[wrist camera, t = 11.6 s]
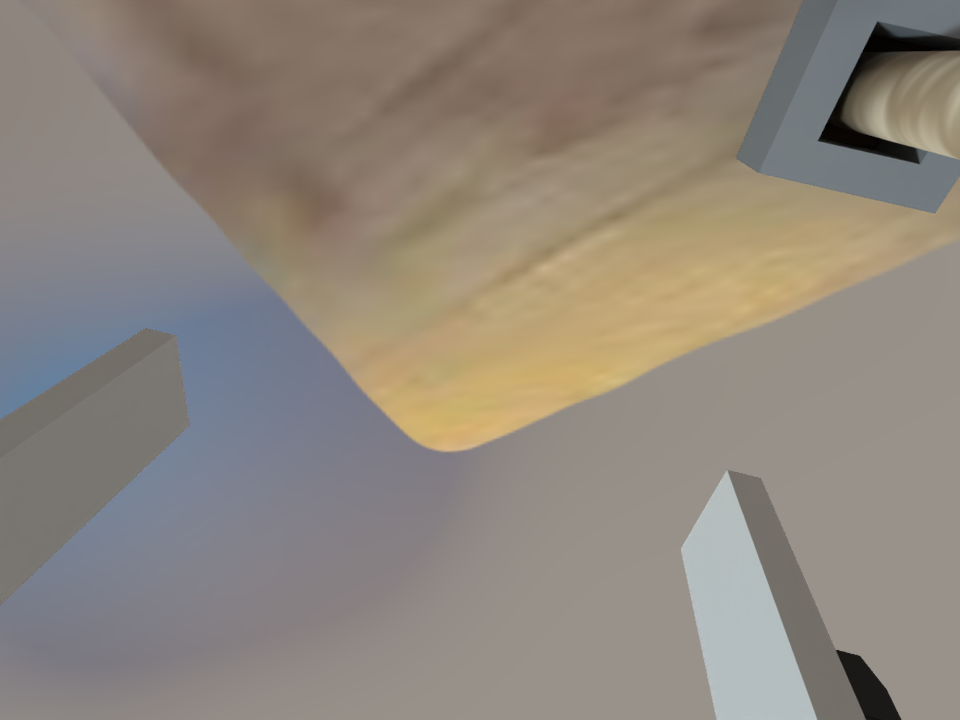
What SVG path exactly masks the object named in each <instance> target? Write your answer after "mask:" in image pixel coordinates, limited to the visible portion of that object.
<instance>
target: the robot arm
mask: <svg viewBox="0 0 960 720" xmlns="http://www.w3.org/2000/svg"><path fill="white" fill-rule="evenodd" d="M189 425H190V424H189V417H188V411H187V405H186V398H185V391H184V384H183V378H182V371H181V365H180V358H179V351H178V344H177V338H176V335H172V334H168V333H163V332H160V331H155V330H151V329H147V328H145V329H143V330H142V331H140V332H139V333H137V334H136V335H134V336H132V337H131V338H129V339H128V340H126V341H124V342H123V343H121V344H120V345H118V346H116V347H115V348H113V349H112V350H110V351H109V352H107V353H105V354H104V355H102V356H101V357H99V358H97V359H96V360H94V361H93V362H91V363H90V364H88V365H86V366H85V367H83V368H82V369H80V370H78V371H77V372H75V373H74V374H72V375H70V376H69V377H67V378H66V379H64V380H62V381H61V382H60V383H58V384H56V385H55V386H53V387H51V388H50V389H48V390H47V391H45V392H43V393H42V394H40V395H39V396H37V397H36V398H34V399H32V400H31V401H29V402H28V403H26V404H24V405H23V406H21V407H20V408H18V409H17V410H15V411H13V412H12V413H10V414H9V415H7V416H5V417H4V418H2V419H1V420H0V605H1V604H2V603H3V602H4V601H5V600H6V599H8V598H9V597H10V596H11V595H12V594H13V593H14V592H15V591H16V590H17V589H18V588H19V587H20V586H21V585H22V584H23V583H24V582H25V581H26V580H28V579H29V578H30V577H31V576H32V575H33V574H34V573H35V572H36V571H37V570H38V569H39V568H40V567H41V566H42V565H43V564H44V563H45V562H46V561H47V560H48V559H50V558H51V557H52V556H53V555H54V554H55V553H56V552H57V551H58V550H59V549H60V548H61V547H62V546H63V545H64V544H65V543H66V542H67V541H68V540H70V539H71V538H72V536H74V535H75V534H76V533H77V532H78V531H79V530H80V529H81V528H82V527H83V526H84V525H85V524H86V523H87V522H88V521H89V520H91V519H92V518H93V517H94V516H95V515H96V514H97V513H98V512H99V511H100V510H101V509H102V508H103V507H104V506H105V505H106V504H107V503H108V502H110V501H111V499H112V498H114V497H115V496H116V495H117V494H118V493H119V492H120V491H121V490H122V489H123V488H124V487H125V486H126V485H127V484H128V483H129V482H130V481H131V480H133V479H134V478H135V477H136V476H137V475H138V474H139V473H140V472H141V471H142V470H143V469H144V468H145V467H146V466H147V465H148V464H149V463H150V462H151V461H152V460H154V459H155V458H156V456H158V455H159V454H160V453H161V452H162V451H163V450H164V449H165V448H166V447H167V446H168V445H169V444H170V443H171V442H172V441H174V440H175V439H176V438H177V437H178V436H179V435H180V434H181V433H182V432H183V431H184V430H185V429H186V428H187V427H188V426H189ZM681 552H682V556H683V562H684V566H685V571H686V576H687V580H688V585H689V590H690V595H691V599H692V604H693V609H694V613H695V619H696V623H697V628H698V633H699V638H700V643H701V647H702V652H703V657H704V661H705V666H706V671H707V676H708V681H709V685H710V690H711V695H712V700H713V704H714V709H715V714H716V719H717V720H901V718H900V716H899V714H898V712H897V710H896V708H895V706H894V704H893V702H892V700H891V697H890V695H889V693H888V691H887V689H886V688H885V687H884V686H883V684H882V683H881V682H880V681H879V679H878V678H877V677H876V676H875V674H874V673H873V672H872V671H871V669H870V668H869V667H868V666H867V664H866V663H865V662H864V660H863V659H862V658H861V657H860V656H858V655H854V654H850V653H846V652H843V651H839V650H835V648H834V645H833V643H832V641H831V638H830V636H829V634H828V631H827V629H826V627H825V625H824V622H823V620H822V618H821V615H820V613H819V611H818V608H817V606H816V604H815V601H814V599H813V597H812V595H811V592H810V590H809V588H808V585H807V583H806V581H805V578H804V576H803V574H802V572H801V569H800V567H799V565H798V562H797V560H796V558H795V556H794V553H793V551H792V549H791V546H790V544H789V542H788V539H787V537H786V535H785V532H784V530H783V528H782V526H781V523H780V521H779V519H778V516H777V514H776V512H775V509H774V507H773V505H772V503H771V500H770V498H769V496H768V493H767V491H766V489H765V486H764V484H763V482H762V480H761V478H758V477H754V476H749V475H746V474H742V473H738V472H733V471H729V470H727V471H726V473H725V474H724V476H723V478H722V480H721V481H720V483H719V485H718V486H717V488H716V490H715V492H714V493H713V495H712V497H711V498H710V500H709V502H708V503H707V505H706V507H705V509H704V510H703V512H702V514H701V516H700V517H699V519H698V521H697V522H696V524H695V526H694V527H693V529H692V531H691V533H690V534H689V536H688V538H687V540H686V541H685V543H684V545H683V546H682V548H681Z"/></svg>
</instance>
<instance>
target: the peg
mask: <svg viewBox="0 0 960 720" xmlns="http://www.w3.org/2000/svg"><path fill="white" fill-rule="evenodd" d="M827 122H828V123H829V124H831V125H833V126H837V127H840V128H844V129H848V130H851V131H855V132H859V133H863V134H866V135H870V136H874V137H877V138H881V139H885V140H889V141H892V142H896V143H900V144H903V145H907V146H911V147H914V148H918V149H922V150H926V151H929V152H933V153H937V154H940V155H944V156H948V157H952V158H955V159H959V160H960V51H913V52H863V53H861V55H860V57H859V59H858V61H857V63H856V65H855V67H854V69H853V71H852V73H851V75H850V77H849V79H848V81H847V83H846V85H845V87H844V89H843V91H842V93H841V95H840V97H839V99H838V101H837V103H836V105H835V107H834V109H833V111H832V113H831V115H830V117H829V119H828V121H827Z"/></svg>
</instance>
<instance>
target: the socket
mask: <svg viewBox="0 0 960 720" xmlns="http://www.w3.org/2000/svg"><path fill="white" fill-rule="evenodd" d="M871 34H873V35H877V36H882V37H886V38H891V39H896V40H900V41H905V42H909V43H914V44H919V45H923V46H928V47H932V50H931V51H960V0H804V1H803V3H802V6H801V8H800V10H799V13H798V15H797V17H796V20H795V22H794V24H793V27H792V29H791V31H790V34H789V36H788V38H787V41H786V43H785V45H784V48H783V50H782V52H781V55H780V57H779V59H778V62H777V64H776V66H775V69H774V71H773V73H772V76H771V78H770V80H769V83H768V85H767V87H766V90H765V92H764V94H763V97H762V99H761V101H760V104H759V106H758V108H757V111H756V113H755V115H754V118H753V120H752V122H751V125H750V127H749V129H748V132H747V134H746V136H745V139H744V141H743V143H742V146H741V148H740V150H739V153H738V155H737V157H736V159H738V160H739V161H741V162H742V163H744V164H746V165H747V166H749V167H750V168H752V169H753V170H755V171H756V172H758V173H761V174H765V175H770V176H774V177H778V178H783V179H787V180H791V181H796V182H800V183H804V184H809V185H813V186H817V187H822V188H826V189H830V190H835V191H839V192H844V193H848V194H852V195H857V196H861V197H865V198H870V199H874V200H878V201H883V202H887V203H891V204H896V205H900V206H904V207H909V208H913V209H917V210H922V211H926V212H930V213H936V211H937V210H938V208H939V206H940V205H941V203H942V202H943V200H944V199H945V197H946V196H947V194H948V193H949V191H950V190H951V188H952V187H953V185H954V184H955V182H956V181H957V179H958V178H959V176H960V160H959V159H955V158H952V157H948V156H944V155H940V154H937V153H933V152H929V151H926V150H922V149H918V148H914V147H911V146H907V145H903V144H900V143H896V142H892V141H889V140H885V139H881V141H880V143H879V144H878V146H877V148H876V150H872V149H867V148H863V147H858V146H854V145H850V144H845V143H841V142H836V141H832V140H827V139H823V138H819V137H820V135H821V133H822V131H823V129H824V127H825V125H826V123H827V121H828V119H829V117H830V115H831V113H832V111H833V109H834V107H835V105H836V103H837V101H838V99H839V97H840V95H841V93H842V91H843V89H844V87H845V85H846V83H847V81H848V79H849V77H850V75H851V73H852V71H853V69H854V67H855V65H856V63H857V61H858V59H859V57H860V55H861V53H862V51H863V49H864V47H865V45H866V43H867V41H868V39H869V37H870V35H871Z"/></svg>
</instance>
